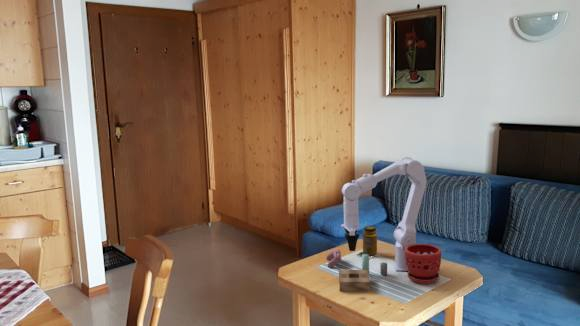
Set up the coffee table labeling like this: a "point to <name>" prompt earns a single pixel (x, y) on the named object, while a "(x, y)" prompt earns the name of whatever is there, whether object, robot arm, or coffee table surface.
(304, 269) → the coffee table surface
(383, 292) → the coffee table surface
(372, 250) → the condiment
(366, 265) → the long pin
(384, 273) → the short pin
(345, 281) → the hole block
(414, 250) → the plant pot
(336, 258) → the pink curved piece
